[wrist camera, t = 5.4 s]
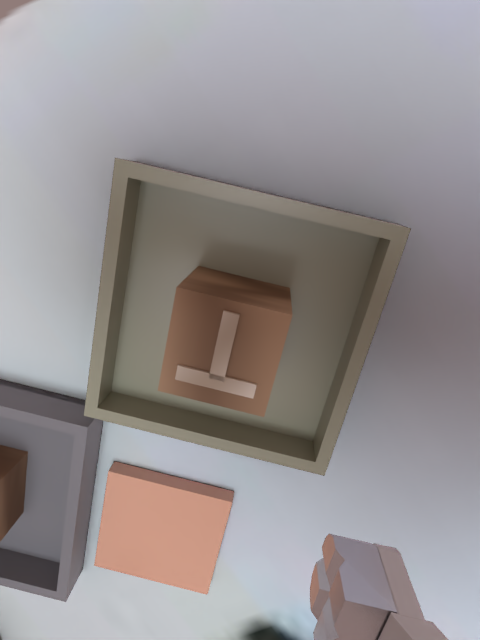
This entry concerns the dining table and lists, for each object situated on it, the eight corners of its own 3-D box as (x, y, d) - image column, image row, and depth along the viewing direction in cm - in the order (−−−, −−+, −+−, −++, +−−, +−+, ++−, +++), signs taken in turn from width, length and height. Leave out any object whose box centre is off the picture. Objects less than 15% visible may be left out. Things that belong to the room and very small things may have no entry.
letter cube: (289, 287, 22) (292, 316, 17) (267, 371, 24) (263, 418, 19) (198, 265, 22) (175, 287, 17) (181, 350, 24) (156, 392, 19)
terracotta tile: (233, 491, 27) (232, 502, 26) (209, 581, 30) (207, 594, 29) (114, 461, 27) (108, 471, 26) (100, 553, 30) (94, 565, 29)
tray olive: (396, 223, 21) (410, 228, 19) (320, 449, 26) (324, 475, 23) (133, 161, 22) (115, 158, 19) (101, 394, 26) (83, 415, 23)
